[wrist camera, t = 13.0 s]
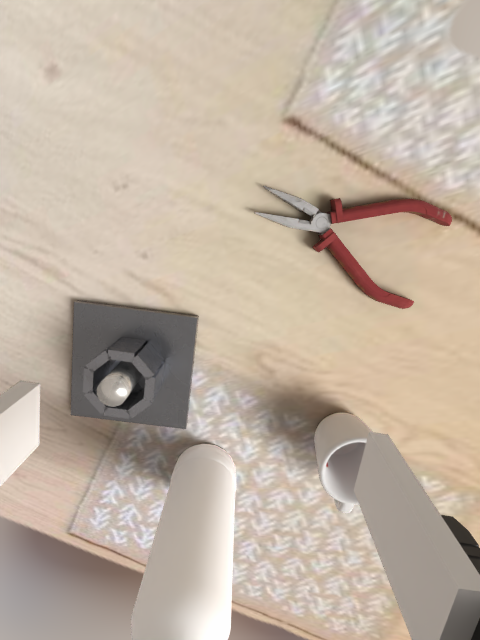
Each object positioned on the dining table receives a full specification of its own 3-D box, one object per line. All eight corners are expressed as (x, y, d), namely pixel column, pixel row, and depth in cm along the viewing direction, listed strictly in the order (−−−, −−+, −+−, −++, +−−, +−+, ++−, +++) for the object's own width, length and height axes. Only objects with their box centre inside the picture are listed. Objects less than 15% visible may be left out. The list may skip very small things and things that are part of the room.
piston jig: (77, 300, 44) (41, 315, 36) (198, 315, 44) (188, 334, 36) (74, 411, 47) (40, 447, 39) (186, 424, 47) (175, 463, 39)
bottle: (195, 506, 50) (127, 899, 20) (162, 460, 48) (37, 813, 19) (248, 479, 49) (254, 851, 19) (216, 431, 47) (170, 756, 18)
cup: (362, 483, 49) (385, 531, 41) (300, 478, 49) (311, 525, 41) (376, 406, 46) (403, 441, 38) (311, 401, 46) (325, 435, 38)
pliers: (276, 147, 40) (279, 141, 37) (447, 213, 41) (461, 212, 39) (240, 250, 43) (240, 251, 40) (402, 309, 44) (412, 314, 41)
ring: (102, 333, 43) (85, 346, 38) (167, 342, 44) (157, 356, 39) (99, 393, 45) (81, 412, 40) (161, 401, 45) (151, 421, 40)
